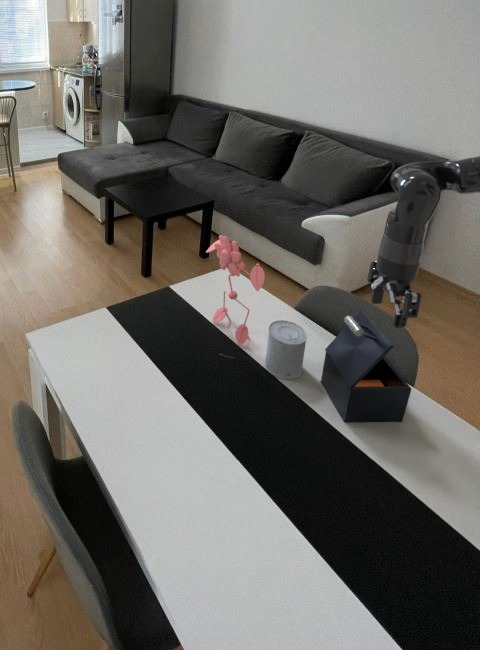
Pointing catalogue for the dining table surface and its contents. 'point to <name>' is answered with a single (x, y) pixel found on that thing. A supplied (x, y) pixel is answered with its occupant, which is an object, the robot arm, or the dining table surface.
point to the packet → (369, 383)
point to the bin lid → (358, 348)
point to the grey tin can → (285, 349)
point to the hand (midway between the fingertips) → (386, 314)
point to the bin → (367, 394)
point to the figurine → (233, 262)
